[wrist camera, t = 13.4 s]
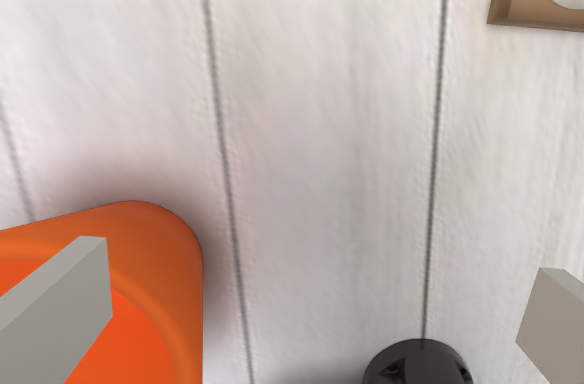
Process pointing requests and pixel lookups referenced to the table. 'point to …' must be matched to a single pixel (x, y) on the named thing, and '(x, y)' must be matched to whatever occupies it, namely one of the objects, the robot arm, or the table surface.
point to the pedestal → (538, 14)
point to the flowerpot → (128, 290)
